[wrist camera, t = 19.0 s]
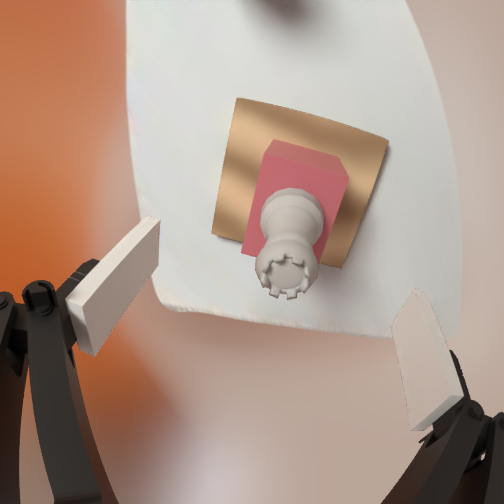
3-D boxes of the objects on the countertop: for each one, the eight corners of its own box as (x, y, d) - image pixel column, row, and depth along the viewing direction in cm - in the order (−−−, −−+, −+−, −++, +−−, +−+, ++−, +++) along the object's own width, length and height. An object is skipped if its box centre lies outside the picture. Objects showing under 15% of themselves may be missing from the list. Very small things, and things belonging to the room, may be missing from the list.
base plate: (239, 97, 25) (236, 97, 24) (385, 138, 25) (388, 140, 24) (214, 228, 33) (211, 233, 31) (339, 262, 32) (340, 268, 31)
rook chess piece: (336, 213, 21) (350, 276, 14) (295, 253, 23) (289, 326, 16) (288, 172, 20) (278, 218, 13) (249, 218, 22) (222, 280, 15)
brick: (273, 138, 26) (263, 153, 20) (338, 157, 26) (349, 177, 20) (254, 217, 30) (240, 253, 24) (313, 233, 30) (314, 272, 24)
